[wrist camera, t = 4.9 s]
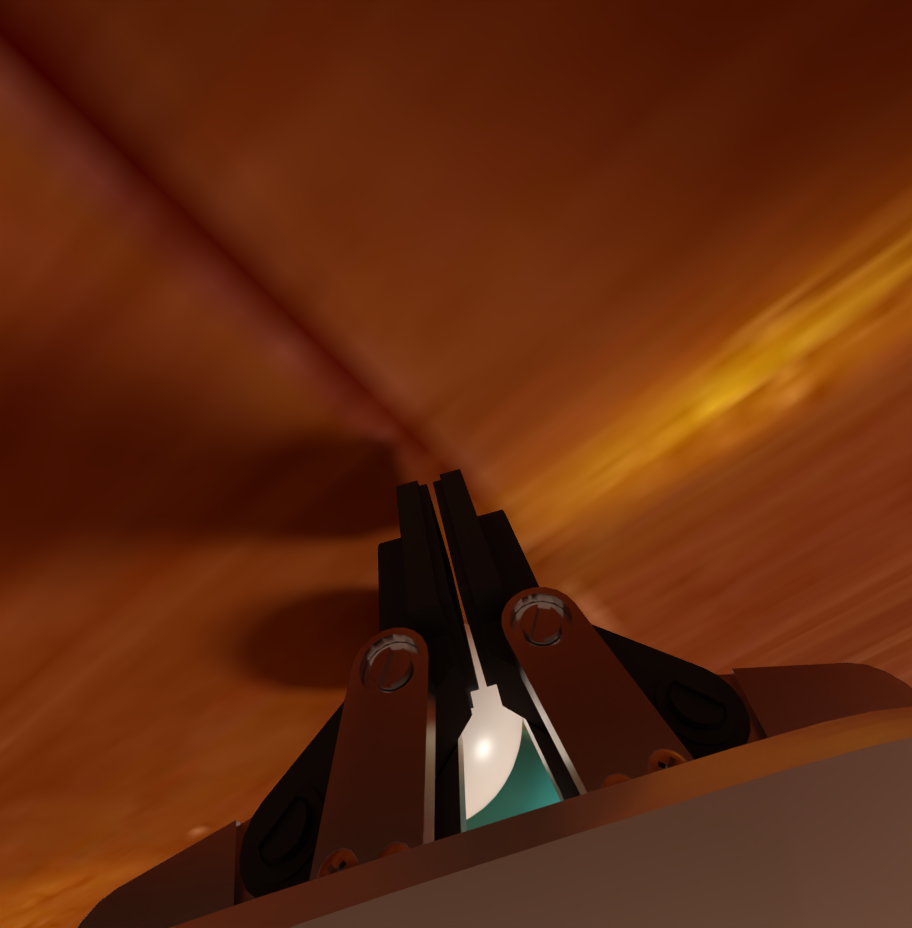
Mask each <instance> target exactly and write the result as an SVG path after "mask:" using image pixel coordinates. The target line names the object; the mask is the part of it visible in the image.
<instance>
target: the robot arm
mask: <svg viewBox="0 0 912 928" xmlns="http://www.w3.org/2000/svg"><path fill="white" fill-rule="evenodd" d="M440 478H441V480H439V481H435V482H433V484H434V489H435V493H436V497H437V501H438V505H439V509H440V514H441V518H442V522H443V526H444V530H445V534H446V539H447V543H448V547H449V551H450V555H451V559H452V563H453V568H454V572H455V576H456V580H457V584H458V588H459V592H460V596H461V600H462V603H463V607H464V610H465V614H466V617H467V621H468V624H469V628H470V631H471V634H472V638H473V641H474V645H475V648H476V651H477V655H478V658H479V662H480V665H481V669H482V672H483V675H484V679H485V682H486V686H487V687H489V686H492V685H495V684H497V688H498V692H499V695H500V699H501V702H502V706H504V707H505V708H507V709H509V710H511V711H512V712H514V713H516V714H518V715H519V716H521V717H523V720H524V723H525V726H526V728H527V730H528V732H529V734H530V737H531V739H532V741H533V743H534V745H535V747H536V749H537V752H538V754H539V756H540V758H541V760H542V762H543V764H544V767H545V769H546V771H547V773H548V775H549V777H550V779H551V782H552V784H553V786H554V788H555V790H556V792H557V794H558V797H559V799H560V802H557V803H554V804H551V805H548V806H544V807H541V808H538V809H535V810H532V811H529V812H525V813H522V814H519V815H516V816H513V817H509V818H506V819H503V820H500V821H497V822H494V823H490V824H487V825H484V826H481V827H478V828H475V829H471V830H468V831H467V826H466V802H465V777H464V752H463V740H462V732H463V730H464V729H465V727H466V725H467V723H468V722H469V720H470V718H471V716H472V711H471V708H474V707H473V702H472V697H471V693H470V692H472V691H475V690H479V686H478V681H477V677H476V673H475V668H474V664H473V660H472V655H471V651H470V647H469V642H468V638H467V634H466V630H465V625H464V621H463V617H462V612H461V608H460V604H459V600H458V595H457V591H456V587H455V582H454V578H453V574H452V570H451V566H450V562H449V558H448V555H447V552H446V548H445V545H444V541H443V538H442V535H441V531H440V528H439V524H438V521H437V517H436V514H435V511H434V507H433V504H432V500H431V497H430V494H429V490H428V487H427V484H424V485H421V486H419V484H418V482H417V481H414V482H410V483H407V484H403V485H399V486H397V487H396V490H397V501H398V511H399V522H400V532H401V538H398V539H395V540H391V541H388V542H384V543H380V544H379V546H378V572H379V622H380V633H378V634H376V635H375V636H373V637H371V638H370V639H369V640H368V641H367V642H366V643H365V644H364V645H363V646H362V647H361V649H360V650H359V652H358V653H357V655H356V656H355V658H354V661H353V664H352V667H351V671H350V676H349V681H348V686H347V691H346V696H345V701H344V702H343V703H342V705H341V706H340V707H339V708H338V709H337V711H336V712H335V713H334V714H333V716H332V717H331V718H330V719H329V721H328V722H327V723H326V724H325V725H324V727H323V728H322V729H321V730H320V732H319V733H318V734H317V735H316V737H315V738H314V739H313V740H312V741H311V743H310V744H309V745H308V746H307V748H306V749H305V750H304V751H303V753H302V754H301V755H300V756H299V758H298V759H297V760H296V761H295V762H294V764H293V765H292V766H291V767H290V769H289V770H288V771H287V772H286V774H285V775H284V776H283V777H282V778H281V780H280V781H279V782H278V783H277V785H276V786H275V787H274V788H273V790H272V791H271V792H270V793H269V794H268V796H267V797H266V798H265V799H264V801H263V802H262V803H261V805H260V806H259V808H258V809H257V811H256V812H255V814H254V815H253V817H252V818H250V819H249V820H247V821H245V822H244V823H242V824H241V823H240V822H238V821H237V820H235V821H234V822H232V823H230V824H228V825H227V826H225V827H223V828H221V829H220V830H218V831H216V832H214V833H213V834H211V835H209V836H207V837H206V838H204V839H202V840H200V841H199V842H197V843H195V844H193V845H192V846H190V847H188V848H186V849H185V850H183V851H181V852H180V853H178V854H176V855H174V856H173V857H171V858H169V859H167V860H166V861H164V862H162V863H160V864H159V865H157V866H155V867H153V868H152V869H150V870H148V871H146V872H145V873H143V874H141V875H139V876H138V877H136V878H134V879H132V880H131V881H129V882H127V883H125V884H124V885H122V886H120V887H119V888H117V889H115V890H114V891H113V892H111V893H110V894H109V895H108V896H106V897H105V898H104V899H102V900H101V901H100V902H98V904H97V905H96V906H95V907H94V908H93V909H92V910H91V912H90V913H89V914H88V915H87V916H86V917H85V918H84V919H83V921H82V922H81V923H80V925H79V926H78V928H912V688H911V687H909V686H908V685H907V684H906V683H904V682H903V681H901V680H899V679H898V678H896V677H894V676H892V675H891V674H889V673H887V672H885V671H882V670H880V669H877V668H874V667H871V666H868V665H864V664H854V663H835V664H815V665H795V666H775V667H755V668H736V669H732V670H731V674H725V675H716V674H714V673H712V672H710V671H708V670H706V669H704V668H702V667H700V666H697V665H695V664H692V663H689V662H687V661H684V660H682V659H679V658H677V657H674V656H671V655H669V654H666V653H664V652H661V651H659V650H656V649H653V648H651V647H648V646H646V645H643V644H641V643H638V642H635V641H633V640H630V639H628V638H625V637H623V636H620V635H617V634H615V633H612V632H610V631H607V630H605V629H602V628H599V627H597V626H594V625H592V624H591V623H590V622H589V621H588V619H587V618H586V617H585V616H584V614H583V613H582V612H581V610H580V609H579V608H578V606H577V605H576V604H575V603H574V602H573V601H572V600H571V599H570V598H569V597H568V596H567V595H565V594H564V593H562V592H560V591H558V590H555V589H551V588H546V587H539V586H538V583H537V581H536V579H535V577H534V575H533V573H532V571H531V568H530V566H529V564H528V562H527V560H526V558H525V555H524V553H523V551H522V549H521V547H520V545H519V543H518V540H517V538H516V536H515V534H514V532H513V530H512V528H511V525H510V523H509V521H508V519H507V517H506V515H505V513H504V511H503V510H499V511H496V512H492V513H488V514H485V515H481V516H478V517H477V515H476V512H475V509H474V506H473V504H472V501H471V498H470V495H469V493H468V490H467V487H466V484H465V482H464V479H463V476H462V473H461V471H460V469H458V470H455V471H451V472H447V473H444V474H440Z"/></svg>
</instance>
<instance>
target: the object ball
mask: <svg viewBox="0 0 912 928" xmlns="http://www.w3.org/2000/svg"><path fill="white" fill-rule="evenodd" d="M557 802H560V799H559V797H558V794H557V792H556V790H555V788H554V786H553V784H552V782H551V779H550V777H549V775H548V773H547V771H546V769H545V767H544V764H543V762H542V760H541V758H540V756H539V754H538V752H537V749H536V747H535V745H534V743H533V741H532V739H531V737H530V734H529V732H528V731H525V730H522V734H521V741H520V746H519V751H518V754H517V757H516V760H515V763H514V766H513V769H512V771H511V773H510V775H509V777H508V778H507V780H506V782H505V784H504V785H503V787H502V788H501V790H500V791H499V792H498V794H497V795H496V796H495V797H494V798H493V799H492V800H491V801H490V802H489V803H488V804H487V805H486V806H485V807H484V808H483V809H482V810H480V811H479V812H478V813H476V814H475V815H473V816H472V817H470V818H469V819H467V820H466V826H467V831H468V830H471V829H475V828H478V827H481V826H484V825H487V824H490V823H494V822H497V821H500V820H503V819H506V818H509V817H513V816H516V815H519V814H522V813H525V812H529V811H532V810H535V809H538V808H541V807H544V806H548V805H551V804H554V803H557Z"/></svg>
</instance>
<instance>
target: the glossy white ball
mask: <svg viewBox="0 0 912 928" xmlns="http://www.w3.org/2000/svg"><path fill="white" fill-rule="evenodd" d="M464 625H465V630H466V634H467V638H468V642H469V647H470V651H471V655H472V660H473V664H474V668H475V673H476V677H477V681H478V686H479V690H475V691H472V692H470V693H471V697H472V702H473V707H474V708H471V711H472V716H471V718H470V720H469V722H468V723H467V725H466V727H465V729H464V730H463V732H462V740H463V752H464V777H465V802H466V820H467V819H469V818H470V817H472V816H473V815H475V814H476V813H478V812H479V811H480V810H482V809H483V808H484V807H485V806H486V805H487V804H488V803H489V802H490V801H491V800H492V799H493V798H494V797H495V796H496V795H497V794H498V792H499V791H500V790H501V788H502V787H503V785H504V784H505V782H506V780H507V778H508V777H509V775H510V773H511V771H512V769H513V766H514V763H515V760H516V757H517V754H518V751H519V746H520V741H521V734H522V720H523V718H522V717H521V716H519V715H518V714H516V713H514V712H512V711H511V710H509V709H507V708H505V707H504V706H502V702H501V699H500V695H499V692H498V688H497V684H495V685H492V686H489V687H487V686H486V682H485V679H484V675H483V672H482V669H481V665H480V662H479V658H478V655H477V651H476V648H475V645H474V641H473V638H472V634H471V631H470V628H469V625H468V624H465V623H464Z"/></svg>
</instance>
